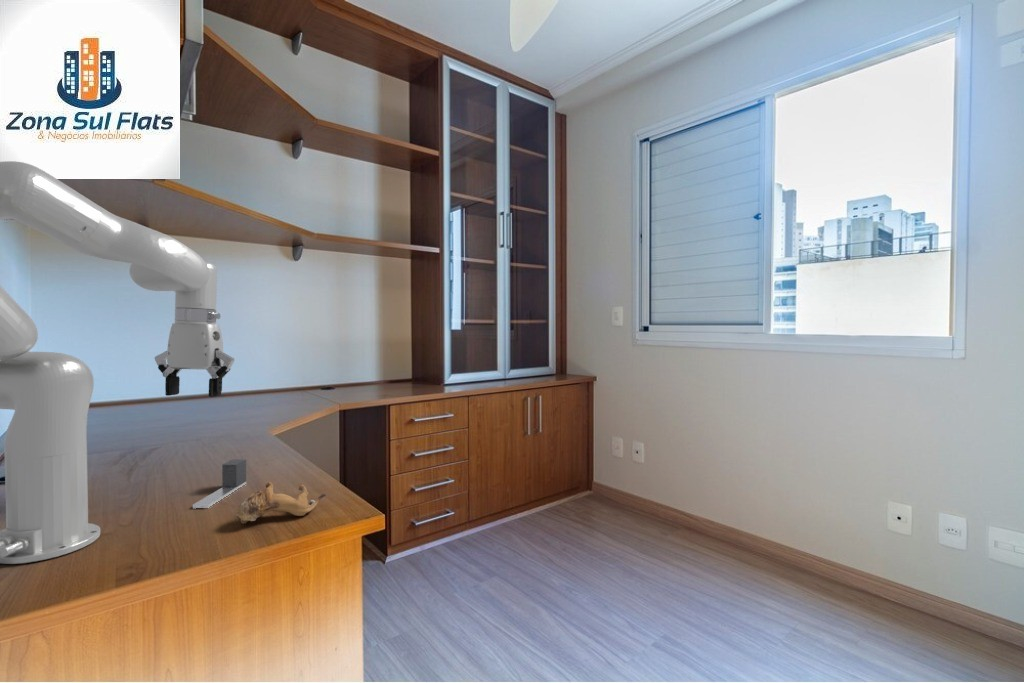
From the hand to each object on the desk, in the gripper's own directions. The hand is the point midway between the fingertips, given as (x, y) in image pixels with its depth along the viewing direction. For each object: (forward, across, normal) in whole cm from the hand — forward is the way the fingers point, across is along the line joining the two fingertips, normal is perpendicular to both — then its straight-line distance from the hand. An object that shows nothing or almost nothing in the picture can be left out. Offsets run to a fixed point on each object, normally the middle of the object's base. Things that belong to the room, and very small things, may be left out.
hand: (193, 395), depth 104 cm
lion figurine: (+18, -25, +8) cm, 32 cm away
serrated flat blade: (+21, -9, +3) cm, 23 cm away
